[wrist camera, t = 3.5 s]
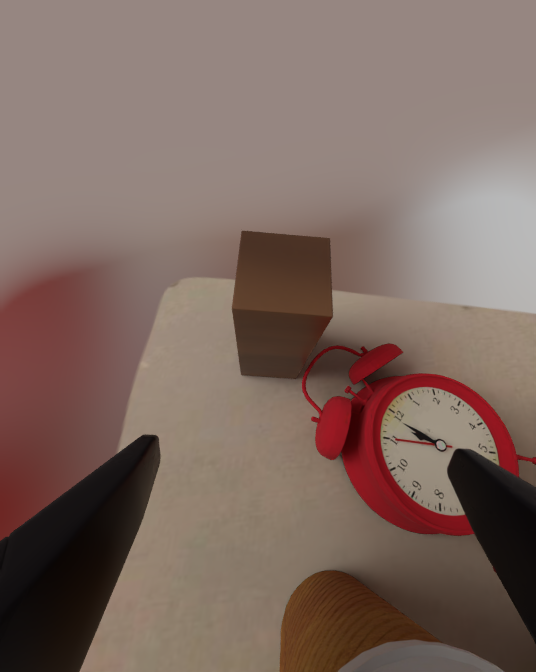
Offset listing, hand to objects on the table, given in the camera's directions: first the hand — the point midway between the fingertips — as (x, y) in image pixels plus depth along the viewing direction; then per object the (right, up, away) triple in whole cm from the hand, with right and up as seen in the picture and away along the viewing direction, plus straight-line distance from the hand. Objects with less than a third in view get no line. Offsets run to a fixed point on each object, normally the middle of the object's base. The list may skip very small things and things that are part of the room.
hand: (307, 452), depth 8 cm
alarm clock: (+8, -4, +13) cm, 15 cm away
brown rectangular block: (-1, +2, +15) cm, 15 cm away
